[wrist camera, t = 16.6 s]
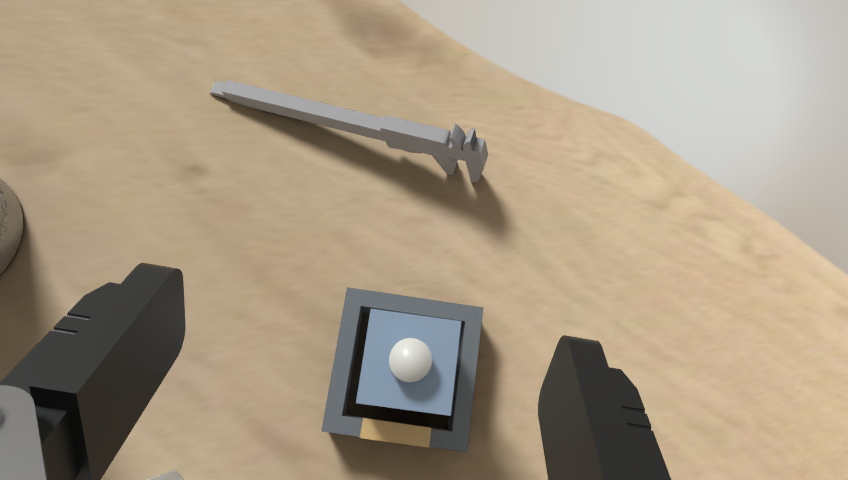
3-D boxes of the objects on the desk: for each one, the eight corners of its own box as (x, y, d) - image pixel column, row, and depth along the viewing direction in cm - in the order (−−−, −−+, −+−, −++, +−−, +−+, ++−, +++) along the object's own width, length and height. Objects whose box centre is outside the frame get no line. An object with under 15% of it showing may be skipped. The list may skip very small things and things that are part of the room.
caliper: (480, 172, 42) (496, 134, 36) (476, 185, 41) (491, 149, 35) (216, 84, 42) (188, 31, 36) (210, 96, 42) (181, 45, 36)
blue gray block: (434, 411, 37) (453, 416, 26) (364, 402, 37) (354, 403, 26) (442, 341, 38) (463, 318, 28) (375, 331, 38) (370, 305, 27)
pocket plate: (460, 448, 36) (467, 453, 33) (326, 429, 36) (320, 432, 33) (476, 314, 39) (484, 307, 36) (350, 295, 38) (346, 286, 35)
